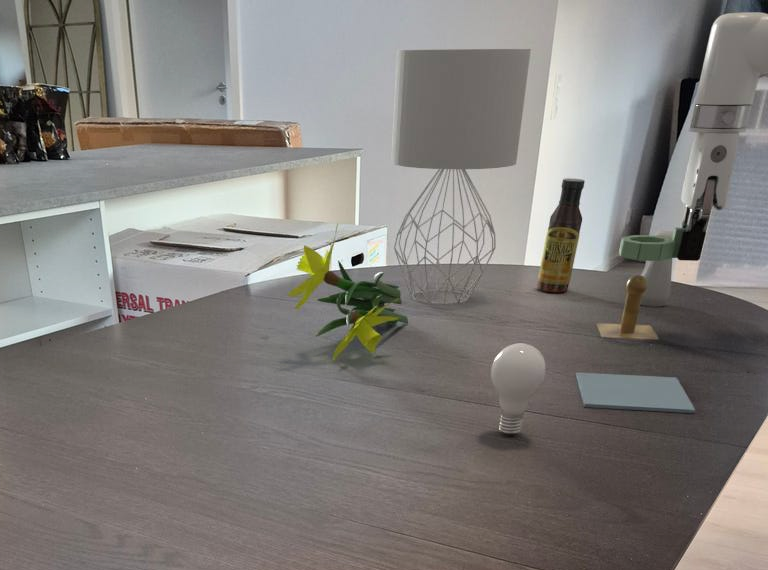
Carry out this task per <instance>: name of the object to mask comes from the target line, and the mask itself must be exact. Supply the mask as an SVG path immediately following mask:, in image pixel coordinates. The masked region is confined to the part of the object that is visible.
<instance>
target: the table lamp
mask: <svg viewBox="0 0 768 570" xmlns="http://www.w3.org/2000/svg"><path fill="white" fill-rule="evenodd" d="M531 51H532V48H462V49H460V48H458V49H457V48H455V49H454V48H453V49H452V48H451V49H450V48H449V49H445V48H444V49H399V50H396V63H395V81H394V83H395V84H394V101H393V116H392V117H393V119H392V137H391V139H392V140H391V155H390V164H392V165H394V166H399V167H406V168H412V169H413V168H415V169H429V170H431V169H432V170H437V171H436V172H435V173H434V175H433V176H432V177H431V179H430V181H429V182H428V183H427V185H426V186H425V187H424V189H423V190H422V192H421V193H420V195H419V196H418V198H417V199H416V200H415V202H414V203H413V204H412V206H411V208H410V209H409V210H408V212H407V213H406V214H405V216H404V218H403V220H402V222H401V225H400V227H399V229H398V231H397V234H396V238H395V242H394V247H393V249H394V253H395V256H396V259H397V261H398V265H399V268H400V270H401V273H402V276H403V279H404V281H405V284H406V287H407V290H408V292H409V296H410V298H411V299H413V300H415V301H417V302H420V303H425V304H431V305H432V304H433V305H456V304H461V303H464V302H469V299H470V297H471V296H472V294H473V292H474V290H475V288H476V287H477V285H478V283H479V281H480V279H481V277H482V275H483V274H484V272H485V270H486V268H487V266H488V264H489V263H490V260H491V258H492V257H493V254H494V252H495V250H496V233H495V228H494V225H493V224H494V223H493V221H492V217H491V214H490V213H489V211H488V209H487V208H486V205H485V203H484V202H483V199H482V198H481V196H480V194H479V192H478V190H477V189H476V186H475V185H474V182H473V180H472V179H471V178H470V176H469V175H470V174H468V172H467V170H486V169H500V168H508V167H513V166H516V165H517V160H518V153H519V144H520V138H521V137H520V136H521V128H522V123H523V122H522V121H523V113H524V104H525V97H526V90H527V81H528V74H529V68H530V67H529V66H530V57H531ZM445 170H446V171H445ZM444 171H445V174H444V177H443V180H442V184H441V187H440V190H439V193H438V197H437V200H436V203H435V206H434V209H433V213H432V216H431V217H430V218H428V219H426V221H424V222H422V224H420V222H421V219H422V216H423V213H424V210H425V209H426V207H427V205H428V202H429V201H430V199H431V197H432V195H433V193H434V191H435V189H436V187H437V185H438V184H439V181H440V179H441V177H442V175H443V173H444ZM451 171H452V216H451V215H450V214H449V213H448V212H447V211H446V210H444V206H445V201H446V196H447V192H448V186H449V180H450V176H451ZM455 171H456V178H457V184H458V191H459V197H460V203H461V204H460V205H461V210H462V223H460V222H459V221H458V220H456V219H455ZM447 174H448V175H447ZM462 174H463V175H462ZM459 176H460V177H459ZM463 177H464V178H463ZM446 178H447V181H446V185H445V191H444V197H443V201H442V205H441V206H442V207H441V209H440V210H439V211H438V212H437V213H436V210H437V207H438V203H439V201H440V197H441V194H442V191H443V188H444V184H445V180H446ZM460 179H461V182H462V186H463V189H464V193H465V196H466V200H467V203H468V207H469V209H470V214H471V217H472V219H470V220H469V221H468V222H467V223H466V224H465V211H464V204H463V197H462V190H461V185H460V183H461V182H460ZM464 179H465V182H466V184H467V187H468V189H469V191H470V194H471V196H472V198H473V201H474V203H475V206H476V208H477V210H478V213H477V214H476V215H475V216H474V213H473V210H472V206H471V203H470V199H469V195H468V192H467V188H466V185H465V182H464ZM432 182H433V184H432ZM431 184H432V185H431ZM430 185H431V187H430ZM429 187H430V189H429V190H428V193H427V194H426V196H425V198H424V199H423V201H422V203H421V205H420V207H419V208H418V210H417V212H416V214H415V215H414V217H413V216H412V214H411V213H412V211H413V210H414V208H415V207H416V206H417V204H418V203H419V201H420V199H422V197H423V196H424V194H425V192H426V191H427V189H428V188H429ZM428 196H429V197H428ZM478 204H479V205H478ZM479 206H480V208H481V210H482V212H483V214H484V215H483V214H482V212H481V210H480V208H479ZM421 209H422V210H421ZM420 211H421V212H420ZM419 213H420V216H419V219H418V222H416V220H415V219H416V218H417V217H418V214H419ZM443 213H444V214H445V215H446V216H447V217H449V218H450V219H452V222H451V223H450V224H449V225H447V226H446V227H445V228H443V229H441V226H442V225H441V224H442V218H443ZM439 214H440V219H439V224H438V233H436V234H435V235H434V236H433V237H431V238H429V235H430V232H431V227H432V224H433V219H434V217H436V216H437V215H439ZM478 216H479V217H480V222H481V227H482V229H481V232H480V233H479V236H478V232H477V225H476V220H475V219H476V218H477V217H478ZM484 216H485V217H484ZM409 217H410V219H411V221H410V222H409V223H408V224H407V225H406V223H407V221H408V219H409ZM429 221H430V224H429V227H428V232H427V236H426V237H425V235H424V234H423V232H422V230H421V229H420V228H421V227H422V226H424V225H425V224H426V223H428V222H429ZM472 222H473V226H474V233H475V238H474V237H473V236H471V235H470V234H469V233H468V232H467V231H465V228H466V227H467V226H469V224H470V223H472ZM413 225H414V226H415V229H416V230H415V236H414V241H413V242H412V245H411V247H410V250H409V252H408V255H407V257H406V247H407V242H408V238H409V235H410V232H411V230H412V227H413ZM486 225H487V227H488V228H489V232H490V237H491V249H490V251H488V252H487V253H486V254H484V255H483V256H482V257H481V258H480V259H479V257H480V255H481V252H482V251H483V248H484V245H485V227H486ZM409 226H410V227H409ZM451 226H452V241H451V249H449V251H446V252H445V253H444V254H443V255H442V256H441V257H439V253H440V250H439V249H440V235H441V233H443V232H444V231H446V230H447V229H448V228H449V227H451ZM455 226H456V227H457V228H458V229H459V230H461V231H462V240H460V242H458V243H457V244H456V245H454V243H455V242H454V241H455V240H454V239H455ZM408 227H409V229H408V232H407V235H406V237H405V241H404V247H403V250H402V247H401V240H402V239H401V238H402V234H403V231H405V229H406V228H408ZM418 231H419V233H420V235H421V237H422V238H423V240H424V241H425V246H423V245H422V244H421V243H420V242H419V241H418V240H417V234H418ZM465 235H467V236H468V237H469V238H470V239H472V240H473V242H474V243H476V255H475V256H474V257H473V255H472V254H471V252H470V250H469V248H468V246H467V244H466V242H465ZM436 237H437V258H436V256H435V255H433V254H432V253H431V252H430V251H429V250H428V249H427V248H428V243H429V242H430V241H432V240H433V239H435V238H436ZM481 237H482V245H481V248H480V250H479V241H480V239H481ZM398 238H399V239H398ZM397 242H398V247H399V250H400V253H399V252H398V250H397V248H396V246H397ZM417 244H418V245H419V247H421V248H422V249H423V250H424V256H423V257H422V258H421V259H419V253H418V247H417V246H418V245H417ZM459 245H461V246H460V249H459V254H458V259H457V262H456V267H455V271H454V272H453V273H451V268H452V263H453V255H454V249H456V248H457V247H458V246H459ZM414 246H415V254H416V259H417V263H416V265H415V266H413V268H411V270H410V268H409V265H408V260H409V258H410V255H411V253H412V250H413V248H414ZM463 246H465V249H466V250H467V252H468V254H469V256H470V260H469V261H467V262H466V263H465V264H463V265H461V267H459V263H460V259H461V254H462V249H463ZM450 252H451V257H450V263H449V269H448V275H447V273H445V272H444V269H443V268H442V265H441V263H440V260H442V259H443V258H444V257H445V256H447V255H448V254H449V253H450ZM400 254H401V255H400ZM427 254H429V255H430V256H431V257H432V258H433V259H435V260H436V262H435V263H434V262H433V261H431V259H429V258H428V257H427ZM489 254H490V255H489ZM488 255H489V258H488V259H487V261H486V263H485V265H484V267H483V269H482V265H481V261H482V260H483V259H484V258H486V257H487V256H488ZM422 261H424V273H425V286H424V283H423V277H422V272H421V266H420V263H421V262H422ZM427 261H428V262H429V263H430V264H432V266H433V268H432V271H431V273H430V275H429V277H428V271H427ZM471 262H473V264H472V266H471V267H470V269H468V271H467V272H466V273H465V274H464V275H463V276H462V277H461V278H460V280H458V282H457V283H456V284H455V279H456V275H457V273H458V272H459V271H460V270H461V269H463V268H465V267H466V266H467V265H469V264H470V263H471ZM401 263H402V264H401ZM477 264H478V266H479V269H480V272H481V273H480V274H479V275H478V277H477V278H476V279H475V280H474V275H475V271H476V266H477ZM402 265H403V267H404V270H405V273H404V270H403V267H402ZM416 267H418V271H419V279H420V283H419V282H418V280H417V279H416V277H415V276H414V274H413V273H412V272H413V271H414V270H415V269H416ZM458 267H459V268H458ZM435 269H436V289H429V281H430V279H431V278H432V275H433V273H434V271H435ZM439 271H440V273H441V274H442V275H443V277H444V279H445V280H444V282H443V283H442V284H441V285H440V286H439V288H438V284H439ZM450 273H451V274H450ZM405 275H406V276H405ZM467 275H468V277H467ZM452 276H453V279H452V281H451V277H452ZM465 277H467V279H466V281H465V283H464V287H463V289H462V291H461V292H460V291H457V290H456V291H455V288H456V287H457V286H458V285H459V284H460V283H461V282H462V281H463V279H464V278H465ZM471 277H472V278H471ZM470 279H471V281H470ZM469 281H470V287H469V288H468V289H467V290H466V288H467V286H468V284H469ZM473 281H474V282H473ZM413 282H414V283H413ZM445 284H446V287H445V289H442V287H443V286H445ZM454 284H455V285H454ZM414 285H416V287H417V288H418V289H419V291H416V289H415V286H414ZM448 288H449V290H448ZM465 291H466V292H465ZM430 292H435V293H434V294H433V295H432V297H431V299H430ZM438 292H445V293H444V299H443V302H435V301H433V299H434V298H435V296H436V295H437V294H438ZM425 293H427V296H426V294H425ZM447 293H453V294H454V298H455V299H456V301H455V302H452V301H451V302H446V298H447ZM467 293H468V294H467ZM418 294H422V295H423V297H424V299H425V300H420V299H418V296H417V295H418ZM457 294H460V296H459V299H458V296H457ZM464 297H467V298H466V299H464ZM463 299H464V300H463Z"/></svg>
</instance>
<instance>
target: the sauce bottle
mask: <svg viewBox="0 0 768 570" xmlns="http://www.w3.org/2000/svg"><path fill="white" fill-rule="evenodd" d="M584 187H585V179H581V178H571V177H569V178H568V177H566V178H563V179H562V182H561V193H560V197H559V200H558V204H557V206H556V208H555V210H554V211H553V212H552V214H551V215H550V217H549V223H548V228H547V231H546V236H545V241H544V245H543V250H542V256H541V262H540V266H539V271H538V272H539V273H538V276H537V280H538V281H537V285H536V286H537V287H536V288H537V289H538V290H539V291H542V292H546V293H555V294H557V293H558V294H559V293H564V292H566V291H568V289H569V286H570V283H571V278H572V274H573V268H574V264H575V260H576V259H575V258H576V254H577V249H578V245H579V240H580V231H581V228H582V223H583V216H582V213H581V210H580V205H581V197H582V191H583V189H584Z"/></svg>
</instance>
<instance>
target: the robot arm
mask: <svg viewBox="0 0 768 570" xmlns="http://www.w3.org/2000/svg"><path fill="white" fill-rule="evenodd" d="M708 37H709V38H708V42H707V45H706V51H705V55H704V60H703V64H702V69H701V73H700V78H699V82H698V86H697V91H696V97H695V100H694V106H693V111H692V113H691V115H692V116H691V119H690V123H689V128H688V132H691V133H695V135H694V139H693V143H692V145H691V150H690V155H689V157H688V161H687V167H686V171H685V175H684V179H683V184H682V191H681V197H680V198H681V202H682V203H683V204H684V205H685V210H684V212H683V218H682V221H681V228H686V231H683V235H682V239H681V244H680V248H679V252H678V257H677V258H676V259H677V260H678V261H690V262H691V261H692V262H697V261H699V260H700V259H701V256H702V252H703V248H704V245H705V239H706V236H707V231H708V227H709V222H710V218H711V214H712V210H713V208H714V209H715V210H717V211H722V210H723V209H725V207H726V205H727V201H728V196H729V192H730V187H731V182H732V178H733V174H734V168H735V163H736V159H737V153H738V146H739V140H740V133H745V132H746V131H747V127H748V123H749V118H750V114H751V110H752V105H753V103H754V99H755V95H756V92H757V91H756V90H757V87H758V82H759V80H760V76H761V74H766V75H768V13H765V12H759V11H758V12H756V11H755V12H754V11H751V12H750V11H749V12H729V13H725V14H724V13H723V14H722V15H719V16H718V17H717V18H716V19H715V20H714V22H713V23H712V26H711V29H710V33H709V36H708Z"/></svg>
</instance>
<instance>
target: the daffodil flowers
mask: <svg viewBox="0 0 768 570" xmlns="http://www.w3.org/2000/svg"><path fill="white" fill-rule="evenodd" d="M338 226H339V223H337V224H336V227H335V233H334V238H333V240H332V244H331V246H330V248H329V250H328V249H326V250H325V253H324V257H323V256H322V255H321V254H320V253H319V252H317V251H316V250H315V249H313V248H311V247H309V246H307V245H304V246H303V254H302V255H301V258H299V261H297V263H298V264H296V270H297V271H300V272H304V273H306V274H309V275H311V276H309V277H308V278H306V279H305V280H304V281H303V282H301V283H300V284H299V285H297V286H296V287H294V288H293V289H292V290H290V292H289V293H288V294H287V295H286V296H287V297H297V296H301V295H302V297H301V299H300V300H299V301H298V303H297V304H296V306H295V307H294V308H293V311H292V313H294V312H295V311H296V310H298V309H299V308H301V307H302V306H304V305H305V303H306V302H307V301H308V300H309V298H310V297H311V295H312V294H313V292H314V291H315V290H316V289H317V288H318V287H319V286H320V285H321V284H322V283H325V284H327V285H330V286H333V287H336V288H339V289H341V290H343V291H342V292H341V291H340V292H338V293H334V294H331V295H329V296H326V297H321V298H317V302H321V303H327V304H334V305H336V307H337V309H338V311H339V312H340V313H341V314H343V315H346V316H345V317H341V318H336V319H332V321H330V322H328V323H326V324H325V325H324V326H323V327H322V328H321V329H320V330H319V331H318V332H317V333H316V334H315V337H319V336H322V335H324V334H326V333H329V332H331V331H332V330H335V329H337V328H340V327H343V326H347V327H349V326H350V325H352V326H351V327H350V328H349V330H348V332H347V334H346V335H345V336H344V337H343V338H342V340H341V341H340V342H338V344H337V346H336V348H335V349H334V352H333V356H332V358H331V362H333V361H334V360H335V359H336V358H337V357H338V356H339V355H340V354H341V353H342V352H343V351H344V350H345V348H346V347H348V345H349V344H350V343H351V342H352V341H353V340H354V339H355V337H356V338H357V339H358V340H359V341H360V343H361V344H362V346H363V347H365V348H366V349H367V350H368V351H369V352H370V353H372V354H376V346H378V343H381V341H382V338H383V337H382V335H381V334H380V333H379V332H377V331H376V330H375V329H374V328H373V327H375V326H379V325H381V324H383V323H386V324H391V325H396V324H397V323H398V322H399V323H403V324H407V325H408V324H409V319H408V317H407V315H403V314H400V313H397V312H395V311H396V309H395V308H390V307H388V306H390V304H397V305H400V306H401V305H402V303H403V301H402V298H401V296H402V294H401V293H402V292H401V290H400V289H399V288H400V286H399V285H394V284H391V283H390V284H389V283H384V282H383V281H381V280H380V279H381V278H382V277H383V275H384V273H385V272H384V271H380V272H378V273H375V275H374V276H373V281H374V282H372V281H366V280H359V281H353V279H352V278H351V277H350V276H349V274H348V273H347V271H346V269H345V268H344V266H343V264H342V263H341V261H340V260H337V264H338V268H339V272H340V274H341V276H342V277H340V276H339V275H337V274H336V273H335V272H334V271H331V270H330V268H331V258H332V254H333V249H334V246H335V241H336V235H337V231H338ZM342 306H350V307H352V308H351V309H348V308H344V307H342Z"/></svg>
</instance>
